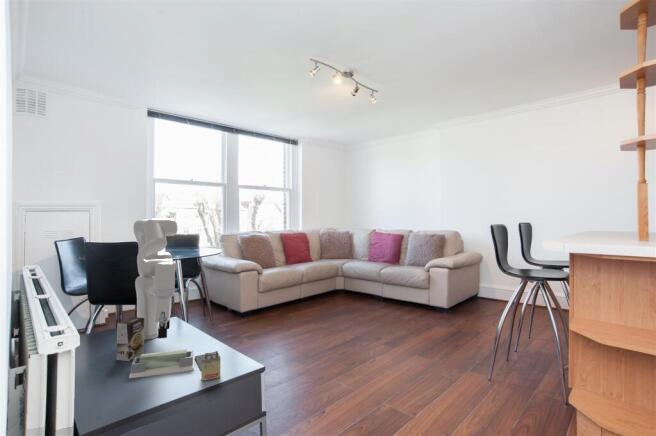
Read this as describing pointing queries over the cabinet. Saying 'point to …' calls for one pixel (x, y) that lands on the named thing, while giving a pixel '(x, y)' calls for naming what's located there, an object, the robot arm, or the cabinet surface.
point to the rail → (163, 359)
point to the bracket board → (141, 371)
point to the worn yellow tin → (210, 366)
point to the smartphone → (199, 361)
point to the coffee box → (130, 338)
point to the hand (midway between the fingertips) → (163, 333)
